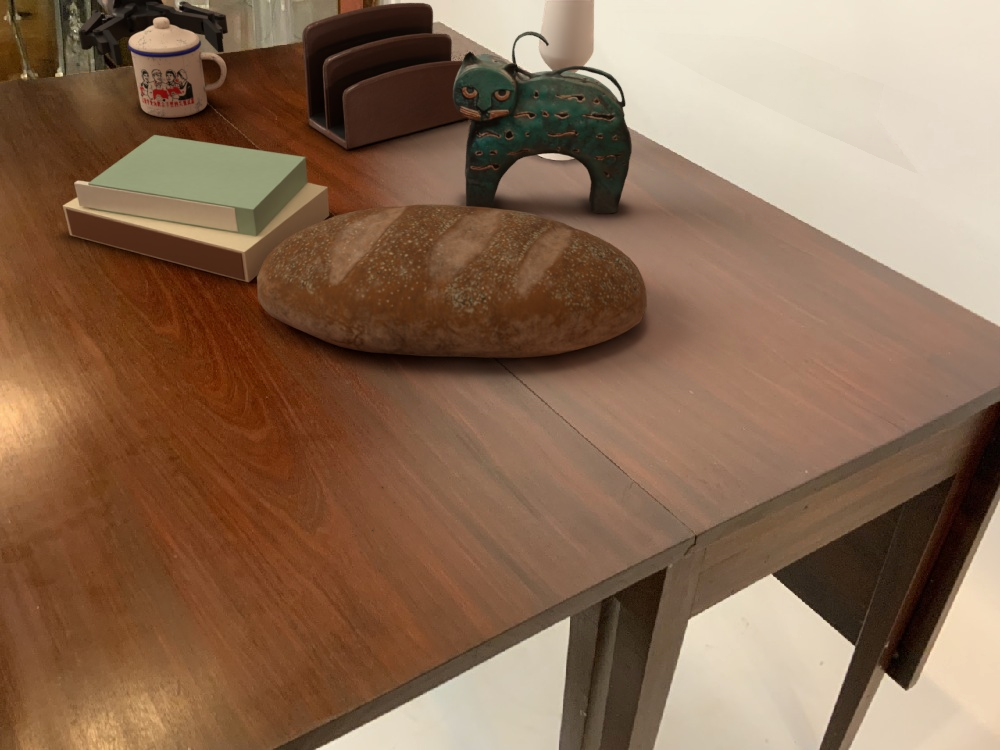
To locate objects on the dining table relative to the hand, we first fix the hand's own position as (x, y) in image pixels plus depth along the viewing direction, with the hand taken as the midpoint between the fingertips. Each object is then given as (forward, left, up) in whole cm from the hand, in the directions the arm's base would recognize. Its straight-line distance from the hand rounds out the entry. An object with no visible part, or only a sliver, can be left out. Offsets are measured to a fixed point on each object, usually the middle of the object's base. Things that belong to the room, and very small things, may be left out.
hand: (170, 48), depth 131 cm
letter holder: (+30, +5, -7) cm, 32 cm away
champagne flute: (+53, +7, -7) cm, 54 cm away
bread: (+56, -33, -7) cm, 66 cm away
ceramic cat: (+56, -9, -7) cm, 58 cm away
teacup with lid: (+3, -3, -7) cm, 8 cm away
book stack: (+25, -30, -7) cm, 40 cm away
